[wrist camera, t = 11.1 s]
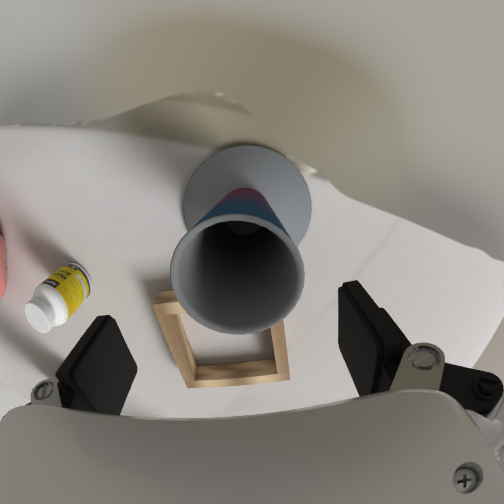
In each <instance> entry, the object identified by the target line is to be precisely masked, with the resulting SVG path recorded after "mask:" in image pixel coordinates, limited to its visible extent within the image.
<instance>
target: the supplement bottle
mask: <svg viewBox="0 0 504 504" xmlns="http://www.w3.org/2000/svg"><path fill="white" fill-rule="evenodd" d="M91 291H92V283H91V279H90V277H89V275H88V273H87V272H86V271H85V269H84V268H83V267H81V266H80V265H78V264H76V263H67V264H65V265H64V266H63V267H61V268H60V269H59V270H57V271H56V272H55V273H53V274H52V275H51V276H50V277H48V278H47V279H46V280H45V281H43V282H42V283H41V284H40V285H39V286H37V287H36V289H35V290H34V293H33V298H32V299H31V300H30V301H29V302H28V303H27V304H26V305H25V315H26V317H27V319H28V321H29V323H30V324H31V325H32V326H33V327H34V328H35V329H36V330H37V331H39V332H41V333H47V332H48V331H49V330H50V329H51V328H52V327H53V326H54V325H55V326H59V325H62V324H63V323H64V322H65V321H66V320H67V319H68V318H69V317H70V316H71V315H72V314H73V313H74V312H75V310H76V309H77V308H78V307H79V306H80V305H81V304H82V303H83V302H84V301H85V300H86V299H87V297H88V296H89V295H90V293H91Z"/></svg>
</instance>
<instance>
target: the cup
mask: <svg viewBox="0 0 504 504" xmlns="http://www.w3.org/2000/svg"><path fill="white" fill-rule="evenodd" d="M304 276H305V274H304V266H303V261H302V258H301V255H300V253H299V250H298V249H297V247H296V245H295V244H294V242H293V241H292V239H291V237H290V236H289V234H288V233H287V231H286V230H285V228H284V226H283V225H282V223H281V222H280V220H279V219H278V217H277V216H276V214H275V212H274V211H273V209H272V208H271V206H270V205H269V203H268V202H267V200H266V199H265V197H264V196H263V195H262V194H261V193H259V192H258V191H256V190H254V189H251V188H239V189H235V190H233V191H231V192H230V193H228V194H227V195H226V196H225V197H224V198H223V199H222V200H221V201H220V202H219V203H218V204H216V205H215V206H214V207H213V208H212V209H211V210H210V211H209V212H208V213H207V214H206V215H205V216H204V217H203V218H201V219H200V220H199V221H198V222H197V223H196V224H195V225H194V226H193V227H192V228H191V229H190V230H189V231H188V232H187V233H186V234H185V235H184V236H183V238H182V239H181V240H180V242H179V243H178V245H177V247H176V249H175V250H174V254H173V257H172V260H171V267H170V278H171V285H172V288H173V291H174V294H175V297H176V298H177V300H178V302H179V303H180V305H181V307H182V308H183V309H184V310H185V311H186V312H187V313H188V315H189V316H191V317H192V318H193V319H194V320H196V321H197V322H198V323H200V324H202V325H204V326H205V327H207V328H209V329H212V330H215V331H218V332H221V333H227V334H237V335H244V334H251V333H257V332H260V331H263V330H266V329H268V328H270V327H272V326H274V325H276V324H278V323H279V322H280V321H281V320H283V319H284V318H285V317H287V315H288V314H289V313H290V312H291V311H292V310H293V308H294V307H295V305H296V304H297V302H298V300H299V298H300V296H301V293H302V290H303V286H304Z"/></svg>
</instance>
